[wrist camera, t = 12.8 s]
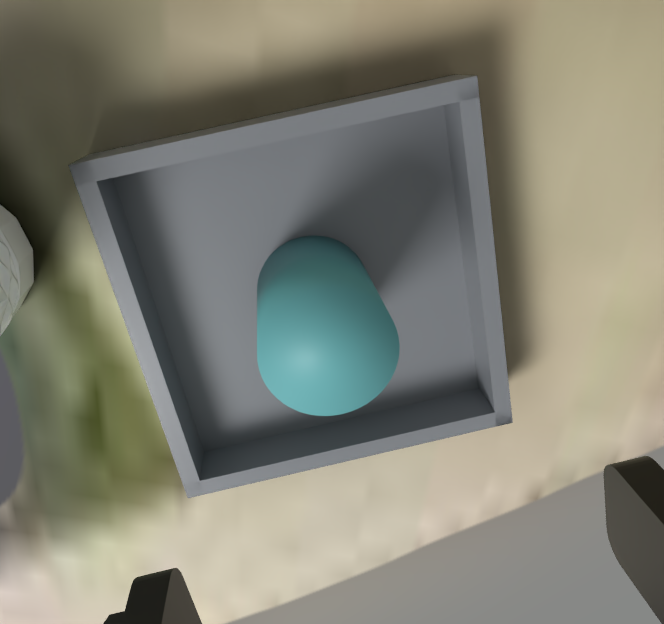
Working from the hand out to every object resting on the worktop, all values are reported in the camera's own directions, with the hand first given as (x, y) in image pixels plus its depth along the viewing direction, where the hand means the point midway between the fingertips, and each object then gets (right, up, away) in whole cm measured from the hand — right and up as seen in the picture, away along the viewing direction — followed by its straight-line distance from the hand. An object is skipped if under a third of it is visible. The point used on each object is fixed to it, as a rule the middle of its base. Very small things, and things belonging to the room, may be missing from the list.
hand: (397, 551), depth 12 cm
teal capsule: (-2, +6, +18) cm, 19 cm away
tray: (-2, +6, +18) cm, 19 cm away
